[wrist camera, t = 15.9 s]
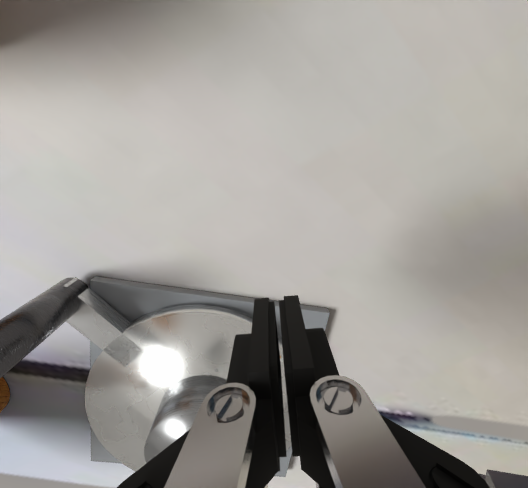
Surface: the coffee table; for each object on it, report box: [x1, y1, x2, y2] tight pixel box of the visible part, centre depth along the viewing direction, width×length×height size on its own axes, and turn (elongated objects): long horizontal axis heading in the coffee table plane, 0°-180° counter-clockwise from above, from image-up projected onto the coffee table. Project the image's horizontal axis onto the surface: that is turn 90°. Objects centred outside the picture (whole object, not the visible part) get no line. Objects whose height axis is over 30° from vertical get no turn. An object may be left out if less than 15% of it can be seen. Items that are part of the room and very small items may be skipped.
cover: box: [144, 375, 227, 463], centre depth 21 cm, size 8×8×4 cm
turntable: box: [0, 277, 291, 471], centre depth 20 cm, size 24×18×8 cm
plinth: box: [90, 276, 330, 477], centre depth 25 cm, size 19×19×1 cm
